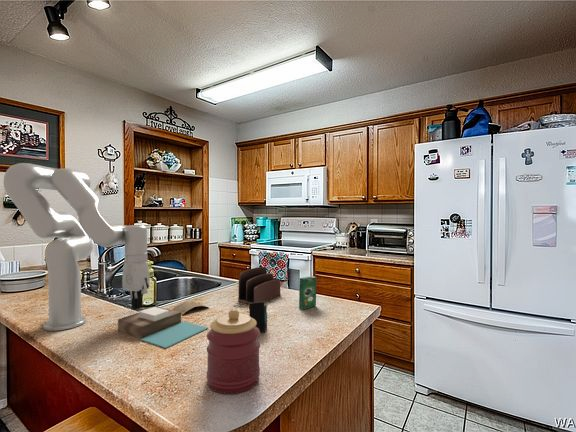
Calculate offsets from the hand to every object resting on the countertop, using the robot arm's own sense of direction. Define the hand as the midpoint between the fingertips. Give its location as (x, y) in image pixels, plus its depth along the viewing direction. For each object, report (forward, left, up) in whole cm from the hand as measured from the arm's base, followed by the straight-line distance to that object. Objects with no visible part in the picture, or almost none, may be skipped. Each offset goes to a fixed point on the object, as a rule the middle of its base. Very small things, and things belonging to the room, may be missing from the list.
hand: (136, 307), depth 113 cm
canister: (+55, -12, -6) cm, 57 cm away
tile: (+10, 0, -2) cm, 10 cm away
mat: (+21, 0, -6) cm, 22 cm away
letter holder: (+22, +49, -6) cm, 54 cm away
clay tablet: (+5, +21, -6) cm, 23 cm away
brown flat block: (+8, 0, -6) cm, 10 cm away
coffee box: (+47, +48, -6) cm, 68 cm away
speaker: (+42, +17, -6) cm, 46 cm away
